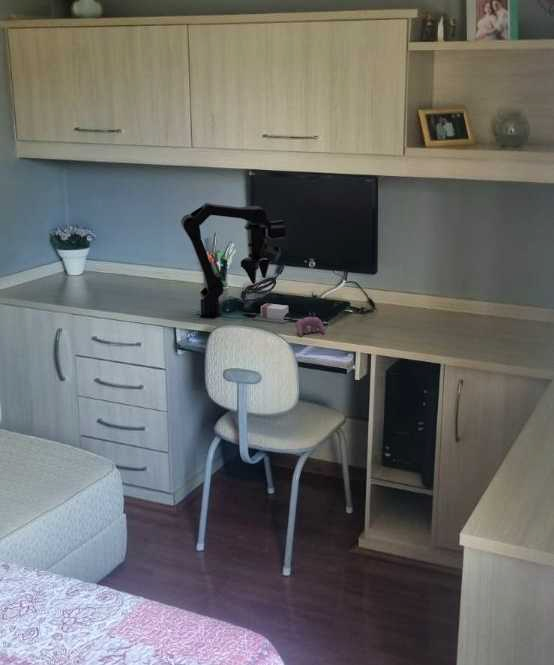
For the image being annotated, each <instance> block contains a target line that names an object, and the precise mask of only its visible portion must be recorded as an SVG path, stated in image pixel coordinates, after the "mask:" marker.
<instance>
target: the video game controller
mask: <svg viewBox="0 0 554 665" xmlns="http://www.w3.org/2000/svg"><path fill="white" fill-rule="evenodd" d="M307 326H310V328H308V327H307ZM295 328H296V332H297V334H298V336H299V337H300V338H303V335H304V334H303V333H306V334H308V333H309V332H311V333H312V332H313V333H314V332H315V333H316V332H317V331H318V330H319V331H320V333H321V334H322V333H323V334H322V335H325V334H326V330H325V326H324V324H323V322H322V320H321V319H320V318H319V317H317V316H316V317H315V316H306V317H302V318H300V319H298V320H297V321H295ZM309 330H310V331H309Z"/></svg>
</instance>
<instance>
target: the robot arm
mask: <svg viewBox="0 0 554 665" xmlns="http://www.w3.org/2000/svg"><path fill="white" fill-rule="evenodd" d="M210 216H214V217H215V216H216V217H217V216H218V217H226V218H235V219H241V220H245V221H248V222H247V223H246V225H245V226H244V229H245V230H246V231H248V230H249V243H248V244H247V246H248V247H250V253H248V257H245V258H243V259H242V260H241V261H240V267H241V268H242V269H244V271H245V273H246V274H247V276H248V278H249V280H250V282H251V284H253V285H255V284H256V281H257V280H256V279H257V271H258V269H259V270H260V274H261V276H262V278H263V279H265V278H266V277H267V273H268V270H269V266H270V264H271V263H275V262H277V261H279V259H280V256H281V255H282V251H281V246H279V245H276V246H274V247H273V246H272V247H270V246H269V243H268V241H266V237H267V238H268V239H269V240H279V239H280V240H282V239H286V236H287V230H286V226H285V221H284V220H282V219H280V220H269V219H268V217H267V213H266V211H265V210H264V208H261V206H258V205H248V206H241V207H240V206H231V205H225V204H224V205H222V204H216V203H215V204H214V203H210V202H206V203H204V204H203V205H201V206H200V207H198V208H197V209H194V211H192V212H191V213H188V214H185V215H184V216H183V217H182V218H181V219H180V220H181V221H180V224H181V227H182V229H183V230H184V232H185V233H186V235H187V237H188V238H189V240H190V242H191V245H192V247H193V249H194V252H195V255H196V257H197V260H198V262H199V265H200V267H201V268H200V269H201V270H202V273H203V281H204V288H202V290H201V291H200V292H199V294H200V296H201V298H202V299H200V312H201V314H199V315H198V316H199V317H200V318H207V319H208V318H210V319H216V318H217V317H218V316H220V315H222V314H221V313H222V312H221V303H220V297H221V296H222V295H223V293H224V287H225V284H224V283H223V282H222V277H221V275H220V274H219V273H218V272H217V273H215V272H214V269H213V267H212V264H211V261H210V259H209V256H208V253H207V250H206V247H205V244H204V243H203V240H202V235H201V233H202V231H201V227H200V226H201V225H202V224H204V223H205V221H206V220H208V219H209V217H210ZM260 224H261V225H260Z"/></svg>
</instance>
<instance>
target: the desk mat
mask: <svg viewBox="0 0 554 665" xmlns="http://www.w3.org/2000/svg"><path fill="white" fill-rule="evenodd" d="M252 320H253V321H256V322H257V321H258V322H267V323H275V324H281V325H282V324H283V325H285V324H286V323H288V322H289V321H290V320H280V319H272V318H262V317H260V316H258V315H256V316H255V317H253V318H252Z"/></svg>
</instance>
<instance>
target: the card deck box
mask: <svg viewBox="0 0 554 665" xmlns="http://www.w3.org/2000/svg"><path fill="white" fill-rule="evenodd" d="M287 313H289V305H287V304H286V305H284V304H283V305H282V304H277V303H276V304H274V303H270V302H269V303H268V302H267V303H265V304H263V305H261V306H260V314H261V317H262V318H272V319H280V320H284V319H283V318H284V316H285V315H286V314H287Z"/></svg>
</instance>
